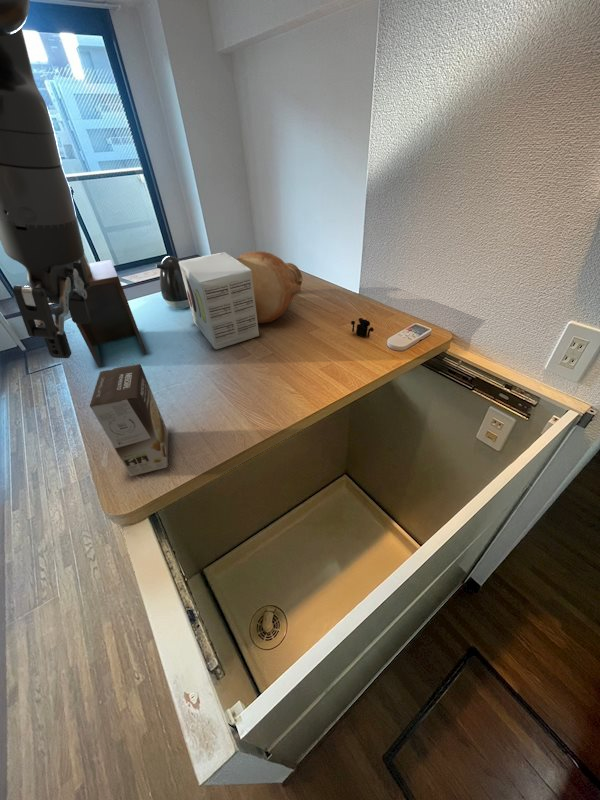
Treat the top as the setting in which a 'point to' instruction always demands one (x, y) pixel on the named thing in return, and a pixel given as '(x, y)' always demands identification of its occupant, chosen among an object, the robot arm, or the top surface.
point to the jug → (271, 283)
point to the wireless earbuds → (362, 327)
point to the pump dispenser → (172, 283)
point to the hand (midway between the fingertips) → (72, 338)
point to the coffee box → (131, 419)
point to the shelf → (106, 308)
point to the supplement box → (221, 298)
